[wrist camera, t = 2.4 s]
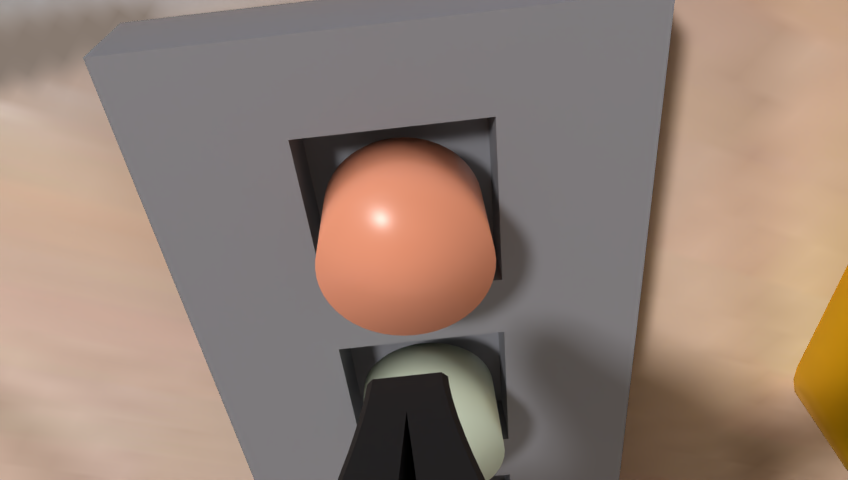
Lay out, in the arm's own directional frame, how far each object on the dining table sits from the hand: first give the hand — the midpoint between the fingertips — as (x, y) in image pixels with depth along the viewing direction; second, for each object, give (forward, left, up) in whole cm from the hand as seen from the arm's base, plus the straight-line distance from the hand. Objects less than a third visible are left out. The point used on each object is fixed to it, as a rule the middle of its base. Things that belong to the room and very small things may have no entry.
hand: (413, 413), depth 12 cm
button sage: (0, -7, -7) cm, 10 cm away
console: (0, -7, -9) cm, 11 cm away
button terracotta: (0, 0, -7) cm, 7 cm away
